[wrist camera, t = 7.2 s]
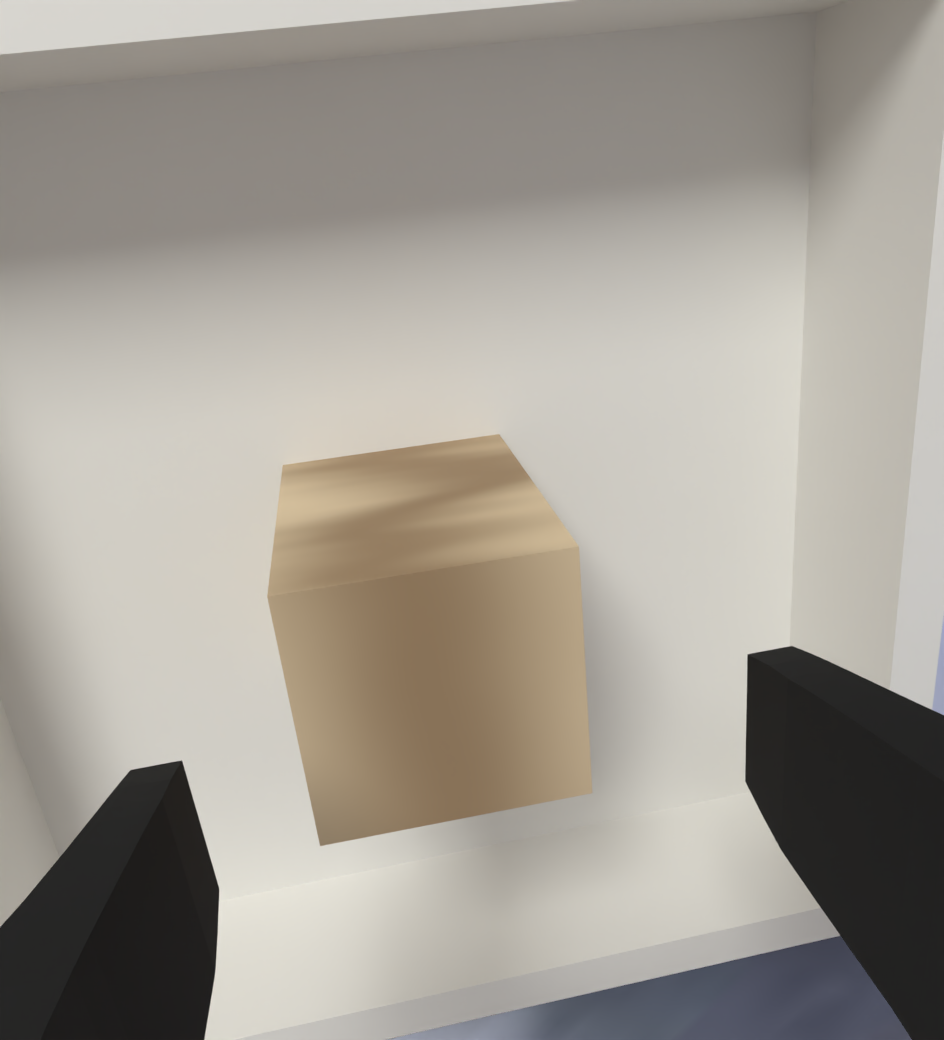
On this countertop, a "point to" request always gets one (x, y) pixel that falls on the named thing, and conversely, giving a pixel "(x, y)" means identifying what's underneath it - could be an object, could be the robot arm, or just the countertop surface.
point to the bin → (461, 415)
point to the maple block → (428, 637)
